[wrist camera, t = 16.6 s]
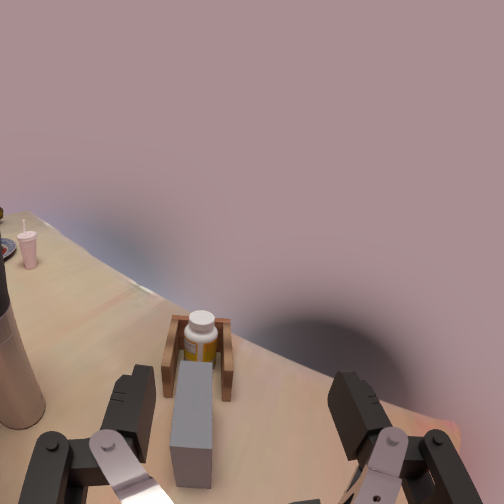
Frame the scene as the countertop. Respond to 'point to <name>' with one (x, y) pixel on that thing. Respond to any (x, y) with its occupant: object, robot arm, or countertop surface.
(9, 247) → the ceramic plate
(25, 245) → the smoothie
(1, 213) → the potato
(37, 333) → the countertop surface
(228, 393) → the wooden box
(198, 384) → the grey rectangular box
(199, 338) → the supplement bottle
